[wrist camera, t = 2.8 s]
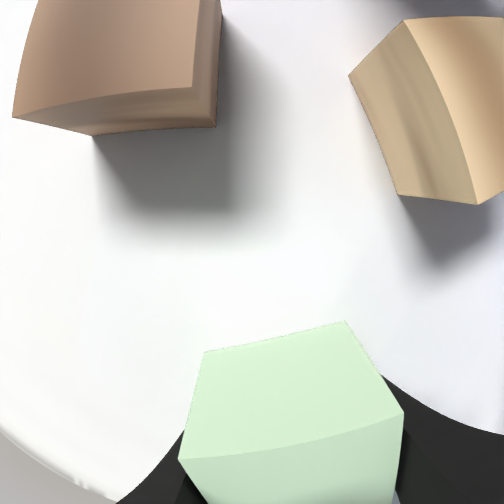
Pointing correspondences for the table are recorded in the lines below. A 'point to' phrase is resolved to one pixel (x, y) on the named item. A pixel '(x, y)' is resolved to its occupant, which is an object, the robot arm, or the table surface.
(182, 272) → the table surface
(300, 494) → the sage painted block
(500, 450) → the robot arm
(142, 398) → the table surface
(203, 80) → the walnut block
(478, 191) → the oak block
